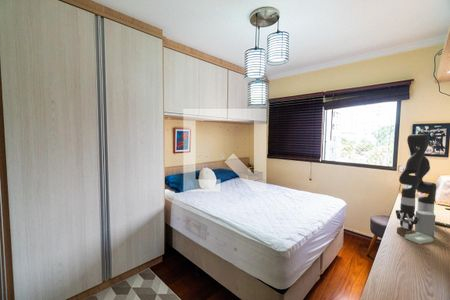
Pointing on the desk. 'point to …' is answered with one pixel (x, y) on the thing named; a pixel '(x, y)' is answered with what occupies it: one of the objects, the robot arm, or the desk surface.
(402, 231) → the block
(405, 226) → the pin
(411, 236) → the tray
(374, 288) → the desk surface
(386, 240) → the desk surface
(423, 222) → the skincare box
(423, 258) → the desk surface
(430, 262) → the desk surface
